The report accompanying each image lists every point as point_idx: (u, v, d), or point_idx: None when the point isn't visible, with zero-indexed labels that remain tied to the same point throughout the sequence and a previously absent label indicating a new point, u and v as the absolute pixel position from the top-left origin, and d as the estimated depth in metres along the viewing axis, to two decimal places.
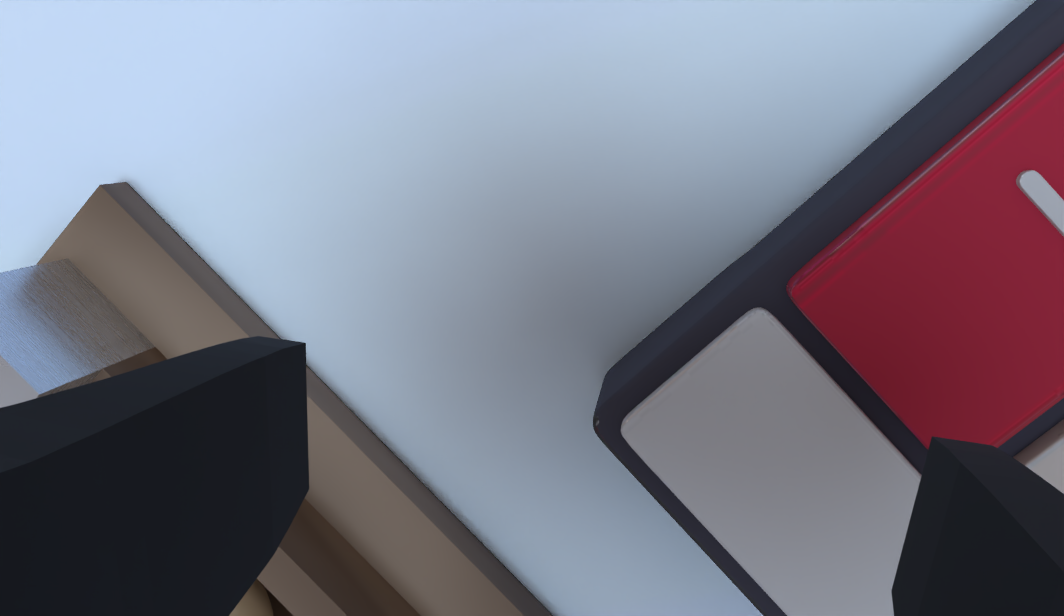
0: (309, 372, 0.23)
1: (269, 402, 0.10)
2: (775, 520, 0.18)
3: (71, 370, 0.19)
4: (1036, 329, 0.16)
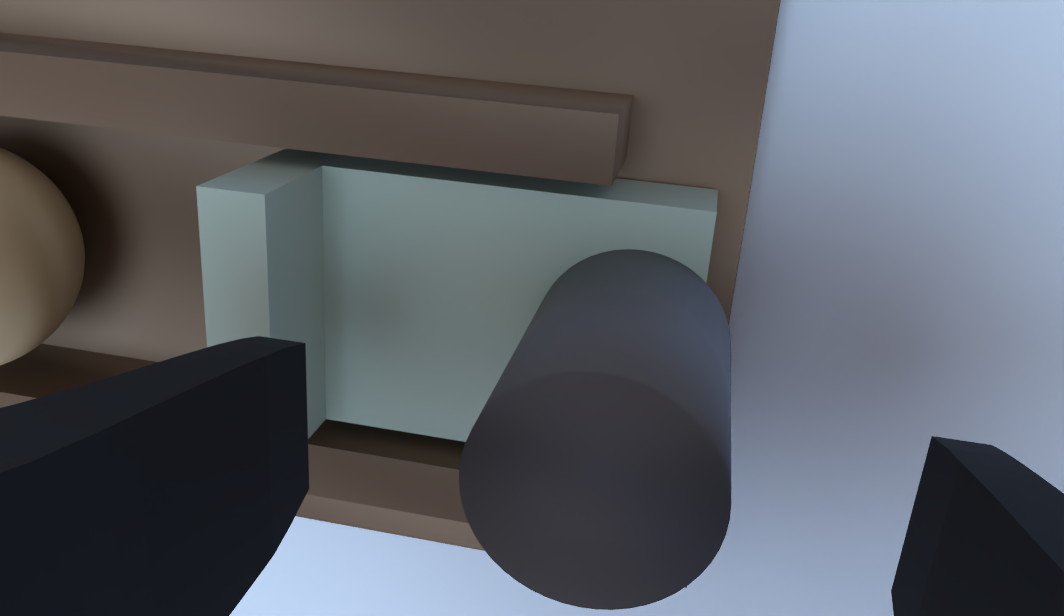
0: None
1: (269, 402, 0.10)
2: None
3: None
4: None
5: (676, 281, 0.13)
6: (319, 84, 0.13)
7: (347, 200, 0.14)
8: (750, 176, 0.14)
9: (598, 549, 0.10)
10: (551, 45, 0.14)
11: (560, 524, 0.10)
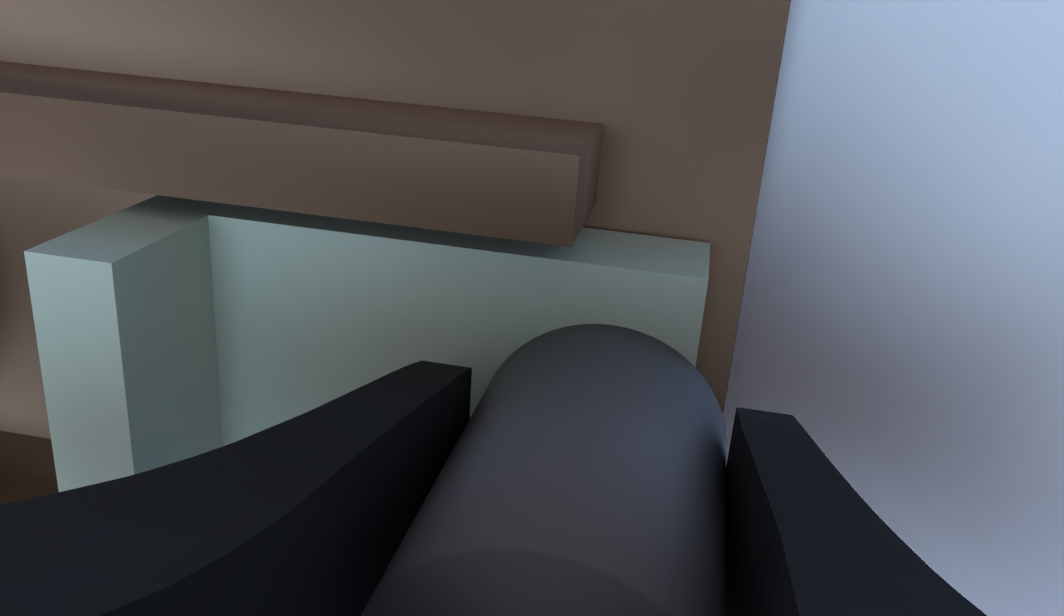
0: None
1: (447, 431, 0.10)
2: None
3: None
4: None
5: (655, 372, 0.10)
6: (194, 114, 0.10)
7: (241, 258, 0.11)
8: (751, 226, 0.11)
9: None
10: (499, 60, 0.11)
11: None
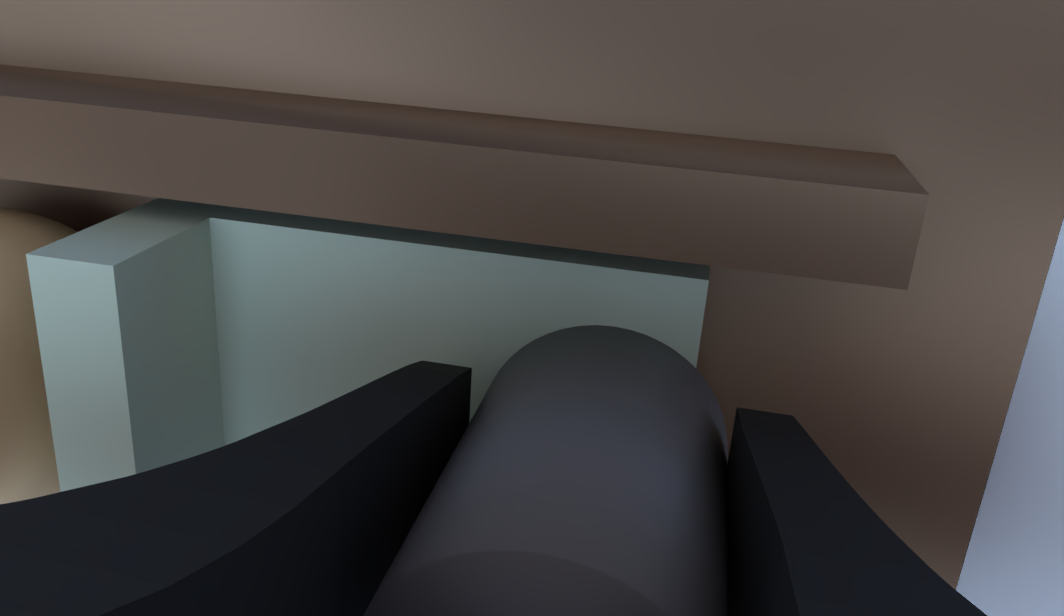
0: None
1: (447, 430, 0.10)
2: None
3: None
4: None
5: (656, 374, 0.10)
6: (498, 149, 0.10)
7: (242, 260, 0.11)
8: (1048, 261, 0.11)
9: None
10: (787, 89, 0.11)
11: None
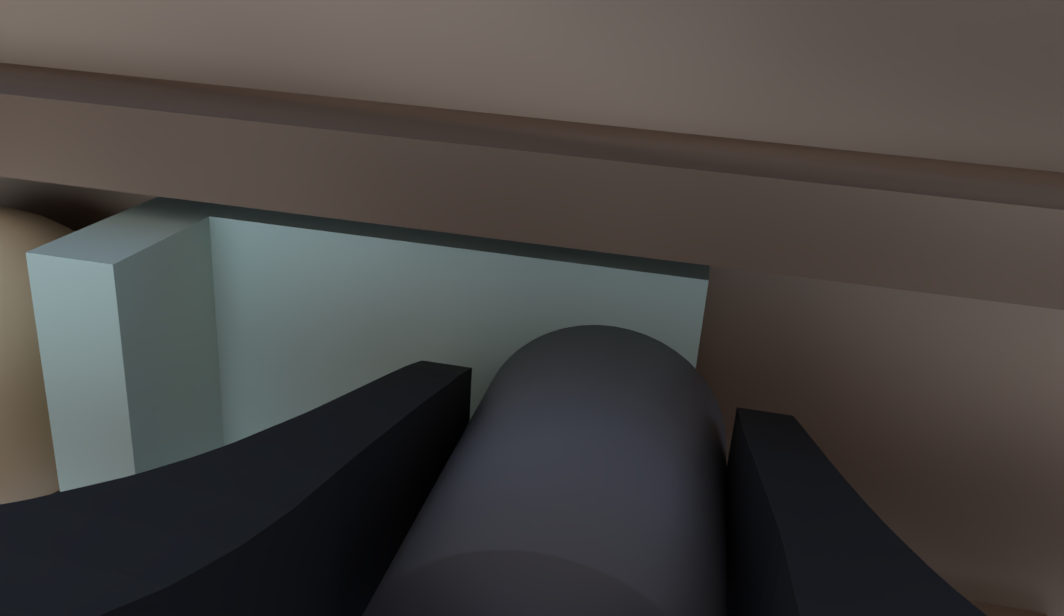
0: None
1: (447, 431, 0.10)
2: None
3: None
4: None
5: (656, 373, 0.10)
6: (810, 183, 0.09)
7: (242, 259, 0.11)
8: None
9: None
10: None
11: None
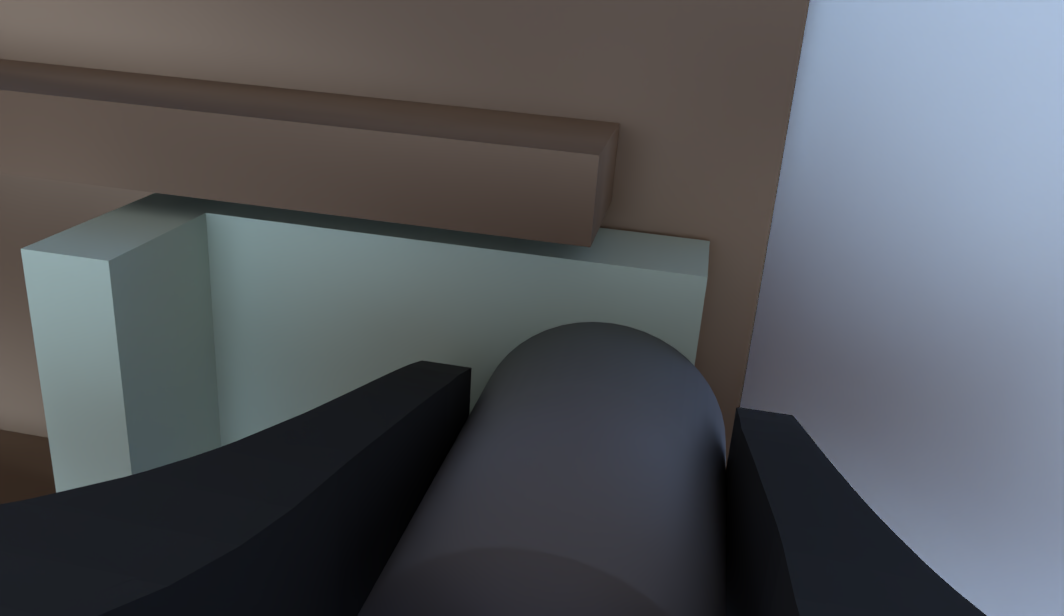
0: None
1: (447, 430, 0.10)
2: None
3: None
4: None
5: (654, 371, 0.10)
6: (210, 113, 0.10)
7: (239, 256, 0.11)
8: (768, 226, 0.11)
9: None
10: (515, 60, 0.11)
11: None
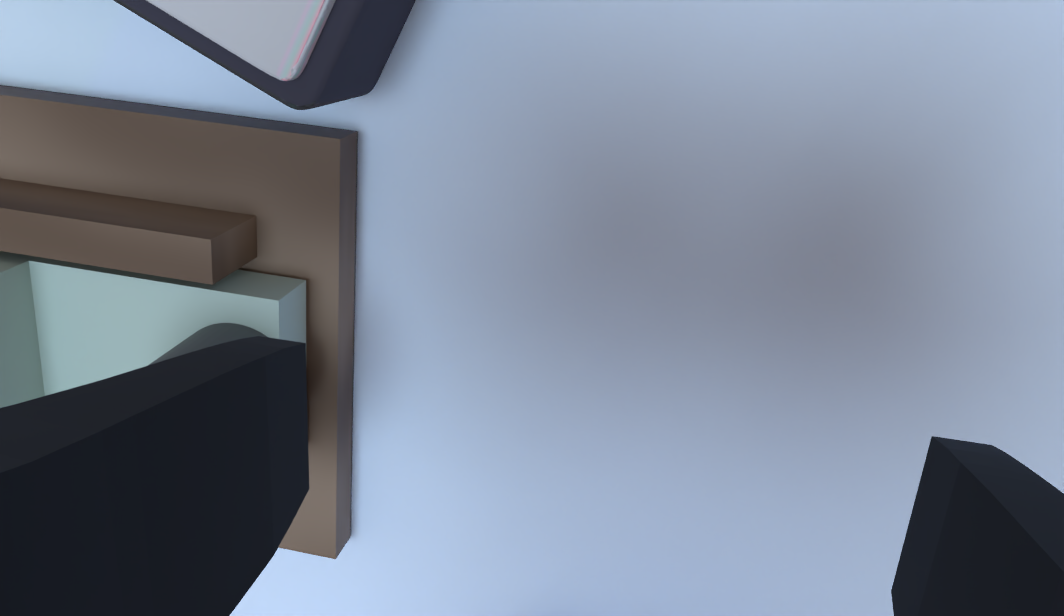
0: None
1: (269, 402, 0.10)
2: None
3: None
4: None
5: None
6: (23, 211, 0.20)
7: (47, 284, 0.21)
8: (337, 272, 0.21)
9: None
10: (199, 180, 0.21)
11: None
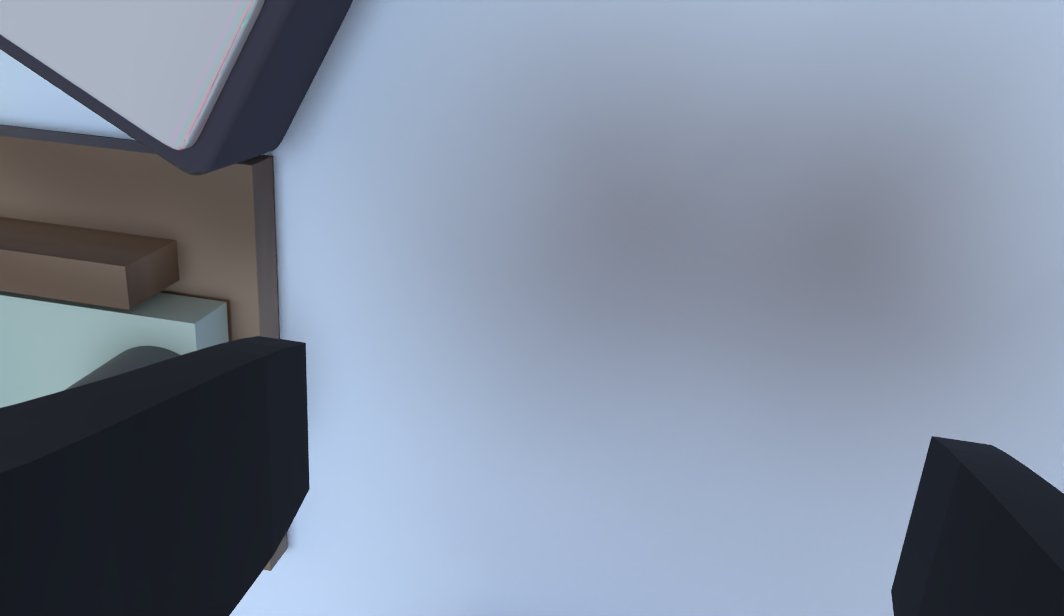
0: None
1: (269, 402, 0.10)
2: None
3: None
4: None
5: None
6: None
7: None
8: (256, 294, 0.22)
9: None
10: (120, 207, 0.21)
11: None
